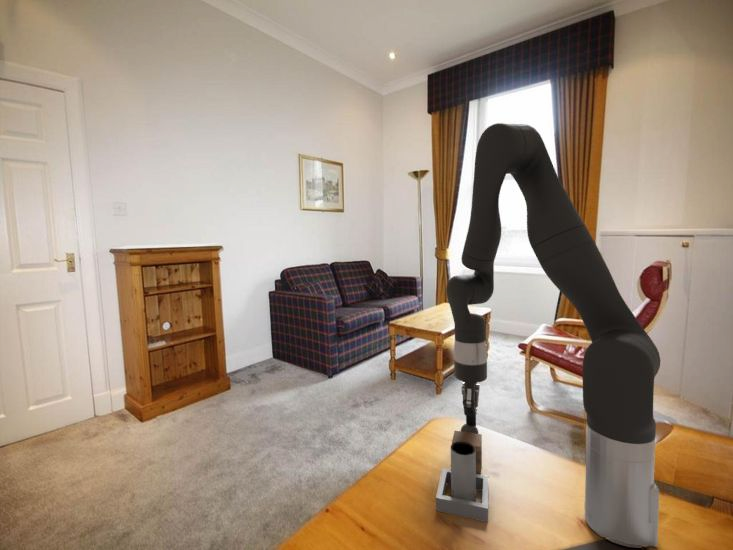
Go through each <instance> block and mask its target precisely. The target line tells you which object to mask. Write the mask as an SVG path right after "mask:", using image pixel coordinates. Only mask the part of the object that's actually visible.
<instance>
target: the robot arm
mask: <svg viewBox="0 0 733 550" xmlns="http://www.w3.org/2000/svg"><path fill="white" fill-rule="evenodd" d="M477 142H478V143H477V145H476V152H475V159H474V171H473V184H472V193H471V195H472V196H471V207H470V218H469V224H468V228H467V233H466V237H465V241H464V245H463V249H462V254H461V264H462V266H464V267H465V268H467V269H469V270H471V271H474V272H473V274H460V275H455V276H451V278H450V279H448V282H447V283H446V288H445V292H446V297H447V300H448V303H449V308H450V311H451V315H452V319H453V323H454V345H453V364H454V366H453V368H454V369H453V376H454V377H455V379H456V380H458V381H461V382H462V386H461V395H462V405H463V414H464V416H465V424H468V423H469V424H473V425H474V426H476V427H477V413H478V412H477V411H478V407H479V401H480V399H479V396H480V383H482V382H484V381H486V380H487V378H488V353H487V352H488V349H487V342H486V334H487V333H486V320H485V318H484V316H483V315H481V314H478V313H473V312H472V313H471V311H470V309H469V306H470V305H471V306H472V305H479V304H484V303H487V302H488V301H490V299H491V298H492V296H493V295H494V290H495V286H494V285H495V283H494V282H495V281H494V279H495V278H494V276H495V275H494V274H495V273H494V271H495V270H494V269H495V268H494V265H495V264H494V263H495V259H496V257H497V252H498V250H499V246H500V242H501V237H502V221H501V215H500V206H499V203H500V202H499V200H500V193H501V189H502V186H503V183H504V181H505V178H506V175H508V174H509V175H511V177H513V179H514V181H515V183H516V185H517V186H518V188H519V190H520V191H521V194H522V195H523V198H524V201H525V206H526V231H527V237H528V238H527V239H528V242H529V244H530V246H531V249H532V251H533V252H534V255H535V258H537V261H538V263H539V264H540V266H541V269H542V270H543V271H544V273H545V274H546V276H547V277H548V279H549V280H550V281H551V283H552V284H553V285H554V286H555V287H556V288H557V289H558V290H559V291H560V292H561V294H562V295H563V296H564V297H565V298H566V299H567V300H568V301H569V302H570V303H571V304H572V305H573V307H574V309H575V310H576V311H577V313H578V315H579V316H580V318H581V320H582V322H583V325H584V327H585V329H586V332H587V333H588V336H589V339H590V341H591V343H590V344H589V345H588V346H587V347H586V349H585V351H584V354H583V359H582V404H583V409H584V412H585V414H586V423H585V424H586V430H585V432H586V433H585V434H586V435H585V436H586V437H585V441H586V442H585V476H584V477H585V481H584V482H585V484H584V485H585V487H584V489H585V490H584V518H585V521H586V523H587V525H588V526H589V527H590V529H591V530H593V532H595V533H596V534H597V535H598V536H600V537H601V538H603V537H605V538H610V539H614V540H618V541H621V542H624V543H627V544H634V545H641V546H644V547H645V548H647V547H654V548H657V547H658V537H659V515H660V514H659V512H660V511H659V509H660V489H659V487H658V486H657V484H656V483H655V461H656V459H655V457H656V456H655V453H656V429H657V425H656V423H657V422H656V420H655V417H654V394H655V393H654V391H655V389H654V386H655V378H656V375H657V374H658V372H659V370H660V367H661V357H660V352H659V350H658V348H657V346H656V344H655V343H654V342H653V340H652V338H651V337H650V335H649V334H648V333H647V332H646V330H645V328H643V326H642V324H641V323H640V322H639V320H638V319H637V318H636V316H635V315H634V313H633V312H632V311H631V309H630V308H629V306H628V305H627V302H626V301H625V300H624V298H623V297H622V295H621V293H620V291H619V288H618V287H617V285H616V283H615V280H614V278H613V276H612V274H611V271H610V269H609V268H608V266H607V263H606V261H605V259H604V258H603V255H602V254H601V251H600V250H599V247H598V246H597V244H596V241H595V240H594V237H593V236H592V234H591V232H590V231H589V229H588V227H587V226H586V224H585V222H584V220H583V219H582V218H581V216H580V214H579V212H578V211H577V209H576V207H575V205H574V204H573V201H572V200H571V198H570V196H569V195H568V193H567V192H568V191H566V189H565V187H564V185H563V183H562V182H561V181H560V180H561V179H559V178H560V177H559V176H558V174H557V172H556V170H555V167H554V165H553V162H552V160H551V158H550V154H549V152H548V149H547V147H546V144H545V142H544V140H543V137H542V136H541V134H540V133H539V132H538V131H537V129H536V128H535V127H533V126H531V125H529V124H527V123H526V124H525V123H518V122H517V123H515V122H496V123H493V124H491V125H489V126H488V127H487V128H485V129H484V131H483V132H482V133H481V135H480V137H479V139H478V141H477ZM468 305H469V306H468Z"/></svg>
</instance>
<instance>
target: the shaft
mask: <svg viewBox="0 0 733 550" xmlns="http://www.w3.org/2000/svg"><path fill="white" fill-rule="evenodd" d="M460 431H462V432H469V433H476V434H479V430H478V427H477V425H476V426H474V425H473V424H469V423H468V424H466V423H465V424H464V423H463V425H461V428H460Z"/></svg>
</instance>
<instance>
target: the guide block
mask: <svg viewBox="0 0 733 550" xmlns="http://www.w3.org/2000/svg"><path fill="white" fill-rule="evenodd" d="M482 435H483V434H482V433H478V434H476V433H469V432H462V431H461V430H454V432H453V437H452V440H451V441H452V442H451V445H452V444H453V443H454V442H458V441H463V442H468V443H470V444H472V445H473V446H474V447H475V450H476V474H479V475H482V467H483V466H482V465H483V464H482V463H483V458H482V457H483V456H482V455H483V451H482V449H483V445H482Z"/></svg>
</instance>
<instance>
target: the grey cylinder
mask: <svg viewBox="0 0 733 550" xmlns="http://www.w3.org/2000/svg"><path fill="white" fill-rule="evenodd" d="M450 469H451V484H450V486H451V487H450V488H451V489H450V491H451V492H450V493H451V494H450V495H451V496H450V497H454V498H459V499H463V500H468V501H473V502H477V489H476V450H475V447H474V446H473V445H472V444H470V443H468V442H463V441H458V442H454V443H453V444H452V443H451V444H450Z"/></svg>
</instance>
